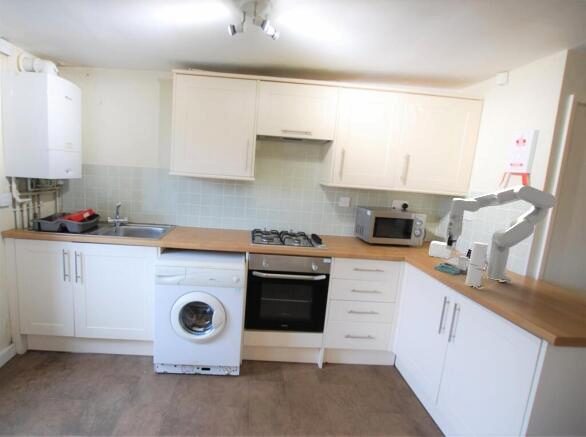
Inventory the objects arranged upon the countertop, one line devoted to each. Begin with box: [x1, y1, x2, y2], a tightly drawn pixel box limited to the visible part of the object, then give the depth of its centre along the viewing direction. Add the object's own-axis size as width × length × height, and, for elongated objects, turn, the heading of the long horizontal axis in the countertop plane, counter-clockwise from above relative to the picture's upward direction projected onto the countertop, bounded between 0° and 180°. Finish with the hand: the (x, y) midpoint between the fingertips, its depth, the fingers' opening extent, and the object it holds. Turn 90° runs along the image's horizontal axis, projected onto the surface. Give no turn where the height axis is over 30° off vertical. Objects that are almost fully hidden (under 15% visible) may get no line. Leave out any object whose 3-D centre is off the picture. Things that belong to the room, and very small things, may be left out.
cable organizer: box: [428, 240, 452, 260], centre depth 232 cm, size 15×11×12 cm
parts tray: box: [434, 264, 461, 276], centre depth 193 cm, size 12×9×3 cm
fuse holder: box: [439, 262, 468, 275], centre depth 198 cm, size 16×8×3 cm, turn 34°
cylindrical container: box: [465, 241, 489, 287], centre depth 170 cm, size 7×7×25 cm
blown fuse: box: [446, 234, 459, 251], centre depth 195 cm, size 4×4×10 cm
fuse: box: [457, 255, 470, 270], centre depth 194 cm, size 4×4×10 cm
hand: (451, 245), depth 195 cm, fingers closed on blown fuse, 3 cm apart
